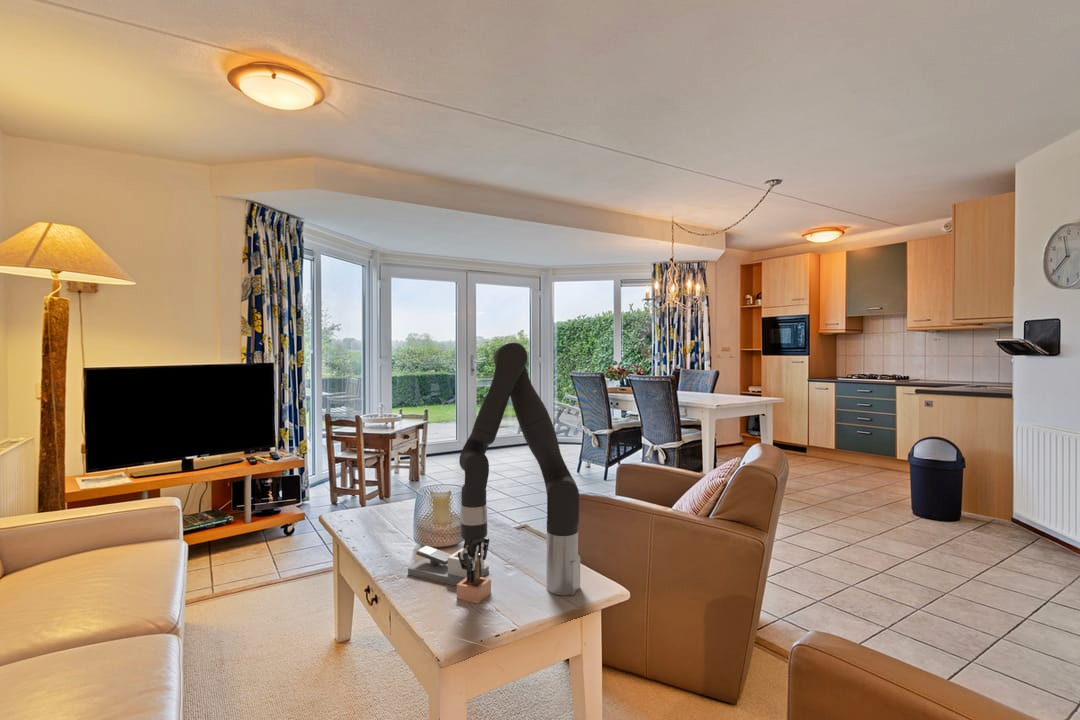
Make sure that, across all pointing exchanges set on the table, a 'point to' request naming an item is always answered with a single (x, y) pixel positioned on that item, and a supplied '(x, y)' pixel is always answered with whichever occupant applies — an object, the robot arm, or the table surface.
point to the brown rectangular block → (476, 573)
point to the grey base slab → (443, 570)
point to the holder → (474, 590)
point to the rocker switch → (434, 554)
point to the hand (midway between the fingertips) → (474, 579)
